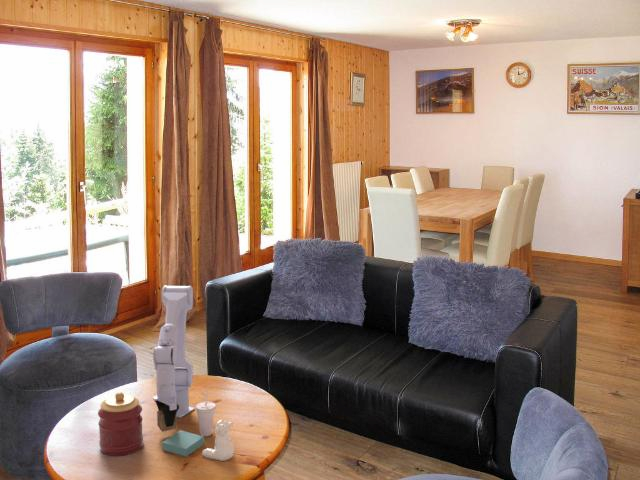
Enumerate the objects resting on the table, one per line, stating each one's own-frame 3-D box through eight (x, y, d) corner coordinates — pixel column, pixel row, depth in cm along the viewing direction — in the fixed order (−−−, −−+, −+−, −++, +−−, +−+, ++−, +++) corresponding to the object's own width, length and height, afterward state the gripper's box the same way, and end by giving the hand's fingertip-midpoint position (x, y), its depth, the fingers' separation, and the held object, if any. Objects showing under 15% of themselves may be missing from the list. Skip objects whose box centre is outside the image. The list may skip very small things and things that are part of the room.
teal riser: (162, 449, 205) (162, 442, 204) (180, 437, 213) (180, 430, 212) (186, 456, 201) (186, 448, 200) (204, 443, 209) (203, 436, 208)
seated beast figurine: (227, 445, 208) (226, 409, 206) (243, 456, 202) (243, 419, 199) (201, 455, 202) (200, 418, 199) (217, 466, 195) (216, 428, 193)
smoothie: (199, 439, 211) (198, 398, 209) (193, 431, 217) (192, 390, 214) (218, 435, 214) (218, 394, 212) (212, 427, 220) (211, 387, 217)
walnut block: (157, 425, 214) (156, 410, 213) (172, 422, 216) (171, 407, 215) (161, 431, 210) (161, 416, 209) (176, 428, 212) (176, 413, 211)
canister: (93, 444, 208) (90, 390, 204) (133, 432, 215) (131, 381, 212) (108, 461, 198) (105, 405, 194) (150, 448, 205) (148, 394, 202)
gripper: (146, 376, 215) (148, 416, 217) (160, 393, 202) (161, 434, 205) (168, 372, 218) (169, 411, 221) (182, 388, 206) (183, 429, 208)
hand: (167, 422), depth 213 cm, fingers closed on walnut block, 5 cm apart
